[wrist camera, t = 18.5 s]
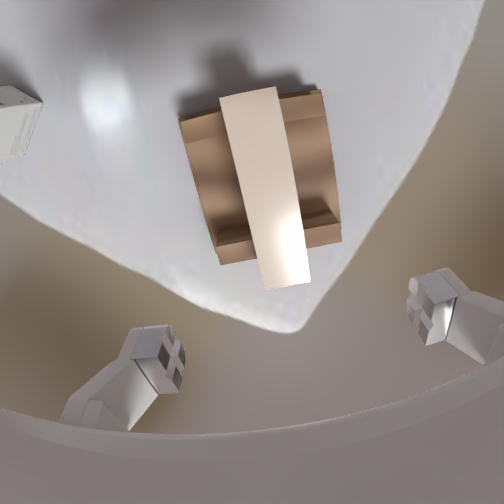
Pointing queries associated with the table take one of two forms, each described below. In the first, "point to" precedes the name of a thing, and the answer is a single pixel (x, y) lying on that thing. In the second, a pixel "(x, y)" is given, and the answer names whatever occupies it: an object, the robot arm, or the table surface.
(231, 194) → the ridged wooden base
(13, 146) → the supplement box
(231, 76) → the table surface
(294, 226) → the beige rectangular bar
